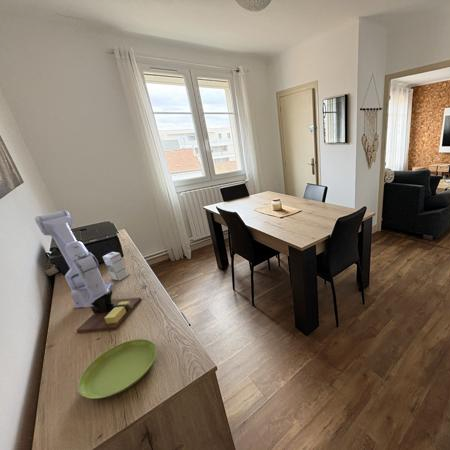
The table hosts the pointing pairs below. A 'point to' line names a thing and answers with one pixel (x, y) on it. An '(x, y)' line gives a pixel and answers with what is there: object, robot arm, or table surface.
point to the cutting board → (98, 319)
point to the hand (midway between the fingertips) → (106, 309)
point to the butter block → (115, 315)
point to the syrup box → (115, 266)
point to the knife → (112, 307)
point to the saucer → (117, 369)
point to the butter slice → (124, 303)
